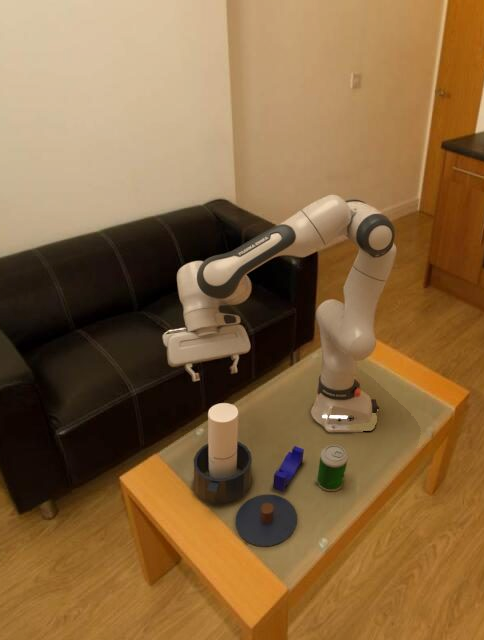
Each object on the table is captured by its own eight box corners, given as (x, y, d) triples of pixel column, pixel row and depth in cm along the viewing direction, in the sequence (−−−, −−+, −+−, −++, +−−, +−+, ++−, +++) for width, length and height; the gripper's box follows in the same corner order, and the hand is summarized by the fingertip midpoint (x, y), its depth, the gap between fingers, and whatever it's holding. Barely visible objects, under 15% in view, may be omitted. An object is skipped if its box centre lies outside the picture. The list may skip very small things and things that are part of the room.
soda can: (339, 496, 137) (345, 465, 131) (313, 490, 138) (317, 459, 132) (345, 476, 144) (350, 446, 138) (320, 470, 144) (324, 440, 138)
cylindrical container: (229, 496, 131) (230, 425, 119) (204, 489, 132) (202, 418, 120) (240, 476, 137) (242, 407, 125) (216, 470, 138) (216, 400, 126)
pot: (257, 460, 144) (258, 436, 139) (240, 518, 126) (241, 492, 122) (207, 454, 143) (206, 429, 138) (182, 511, 126) (181, 485, 121)
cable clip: (288, 458, 146) (289, 444, 143) (302, 464, 145) (303, 449, 142) (268, 487, 136) (269, 472, 133) (282, 493, 135) (284, 478, 132)
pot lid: (300, 500, 134) (302, 487, 131) (291, 551, 120) (293, 538, 118) (243, 493, 133) (244, 480, 131) (228, 544, 120) (228, 530, 117)
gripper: (162, 327, 118) (174, 384, 116) (245, 315, 128) (257, 366, 126) (159, 334, 123) (170, 388, 121) (239, 321, 134) (251, 371, 132)
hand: (215, 377), depth 124 cm, fingers open, 8 cm apart
